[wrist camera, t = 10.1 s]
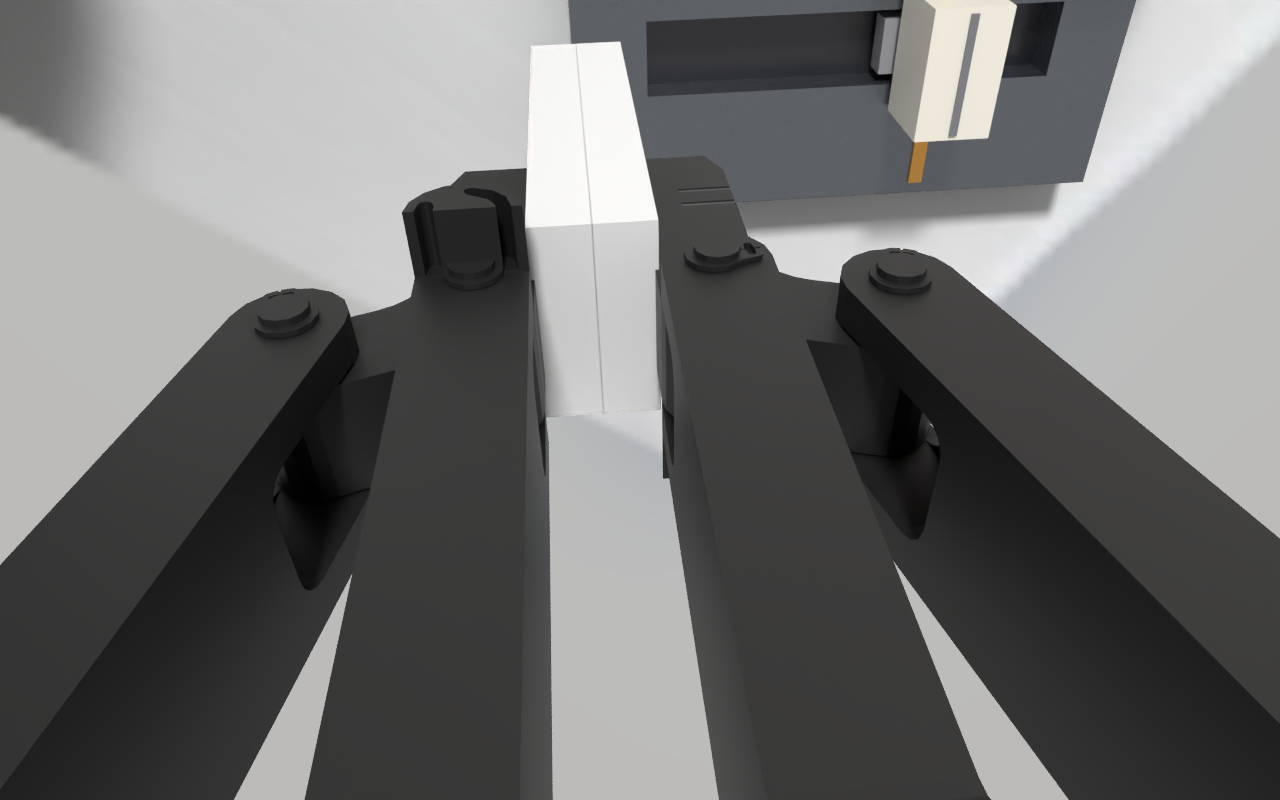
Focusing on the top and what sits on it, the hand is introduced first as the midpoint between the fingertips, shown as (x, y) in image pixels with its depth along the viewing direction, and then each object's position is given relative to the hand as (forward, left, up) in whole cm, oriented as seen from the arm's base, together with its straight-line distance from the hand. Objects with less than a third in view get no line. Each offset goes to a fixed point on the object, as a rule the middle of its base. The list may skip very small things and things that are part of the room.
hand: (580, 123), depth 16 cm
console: (+11, -6, -24) cm, 28 cm away
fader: (+15, -6, -23) cm, 28 cm away
